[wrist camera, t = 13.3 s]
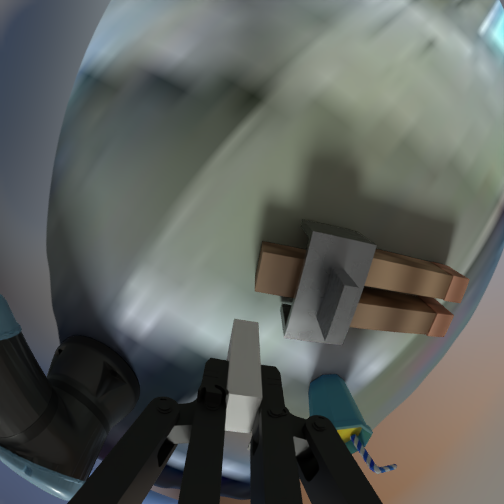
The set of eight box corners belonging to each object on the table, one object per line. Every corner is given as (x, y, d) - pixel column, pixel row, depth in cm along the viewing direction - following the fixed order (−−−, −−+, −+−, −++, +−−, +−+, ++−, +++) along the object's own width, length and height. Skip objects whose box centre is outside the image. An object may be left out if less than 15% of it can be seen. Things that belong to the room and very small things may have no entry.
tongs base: (251, 291, 31) (250, 314, 26) (262, 241, 30) (263, 255, 25) (425, 317, 32) (443, 336, 27) (441, 277, 30) (463, 293, 25)
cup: (382, 378, 35) (418, 454, 21) (353, 412, 37) (376, 487, 23) (302, 356, 34) (321, 451, 19) (275, 394, 36) (280, 484, 21)
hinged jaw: (315, 262, 30) (325, 280, 25) (322, 235, 29) (334, 248, 24) (439, 286, 30) (460, 303, 25) (446, 265, 29) (469, 279, 25)
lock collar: (280, 309, 31) (287, 364, 22) (302, 219, 28) (323, 243, 19) (329, 317, 31) (352, 370, 22) (355, 231, 28) (396, 259, 19)
